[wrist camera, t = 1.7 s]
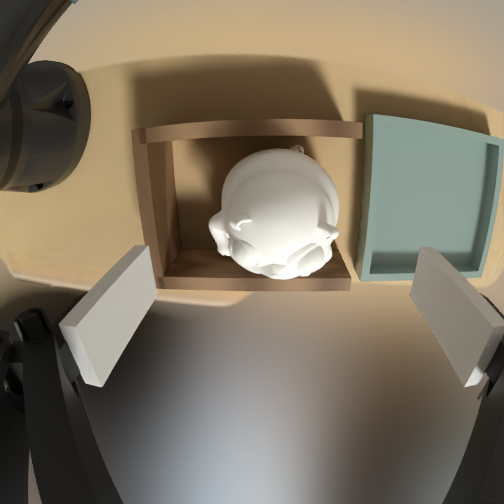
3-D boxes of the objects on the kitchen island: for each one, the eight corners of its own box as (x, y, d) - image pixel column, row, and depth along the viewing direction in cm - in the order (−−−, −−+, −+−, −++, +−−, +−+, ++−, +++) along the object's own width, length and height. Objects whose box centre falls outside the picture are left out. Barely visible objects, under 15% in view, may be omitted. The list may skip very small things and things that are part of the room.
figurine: (241, 127, 26) (217, 130, 15) (344, 159, 26) (391, 185, 15) (215, 227, 30) (182, 291, 19) (311, 254, 30) (329, 328, 19)
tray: (354, 269, 30) (360, 281, 28) (364, 114, 24) (373, 114, 22) (470, 267, 29) (481, 277, 27) (490, 137, 23) (504, 139, 21)
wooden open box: (172, 259, 31) (153, 288, 26) (159, 127, 26) (131, 130, 20) (337, 260, 30) (349, 290, 25) (344, 122, 25) (362, 122, 19)
